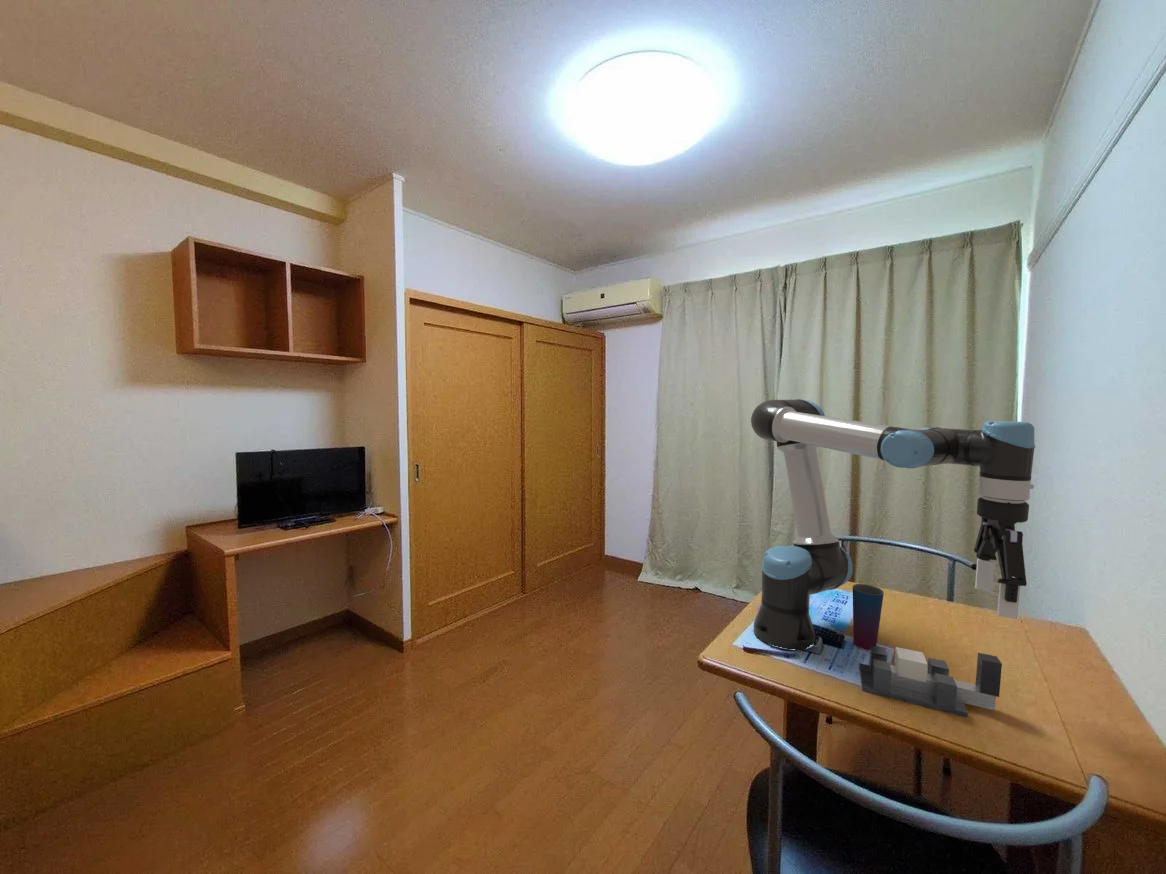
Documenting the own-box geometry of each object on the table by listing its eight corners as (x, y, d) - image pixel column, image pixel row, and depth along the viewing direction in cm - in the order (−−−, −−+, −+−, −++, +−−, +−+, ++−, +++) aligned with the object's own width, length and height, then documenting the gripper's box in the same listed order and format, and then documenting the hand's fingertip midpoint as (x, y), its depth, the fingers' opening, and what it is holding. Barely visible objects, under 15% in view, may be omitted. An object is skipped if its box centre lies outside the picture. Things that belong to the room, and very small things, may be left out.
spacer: (897, 675, 98) (898, 657, 98) (894, 663, 102) (895, 646, 102) (926, 682, 96) (927, 664, 95) (921, 670, 100) (922, 652, 100)
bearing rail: (862, 690, 99) (863, 664, 99) (859, 666, 108) (860, 642, 107) (967, 717, 91) (969, 689, 90) (954, 689, 100) (956, 663, 99)
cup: (885, 653, 114) (888, 595, 112) (855, 650, 115) (858, 593, 114) (873, 639, 120) (876, 585, 119) (845, 636, 122) (848, 582, 120)
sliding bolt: (877, 681, 101) (879, 638, 100) (875, 674, 103) (878, 632, 102) (997, 711, 91) (1001, 663, 90) (992, 702, 94) (996, 656, 93)
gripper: (1058, 515, 77) (1047, 635, 79) (1004, 489, 99) (997, 583, 101) (1000, 510, 80) (991, 625, 82) (961, 486, 103) (954, 577, 104)
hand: (994, 602), depth 92 cm, fingers open, 13 cm apart
